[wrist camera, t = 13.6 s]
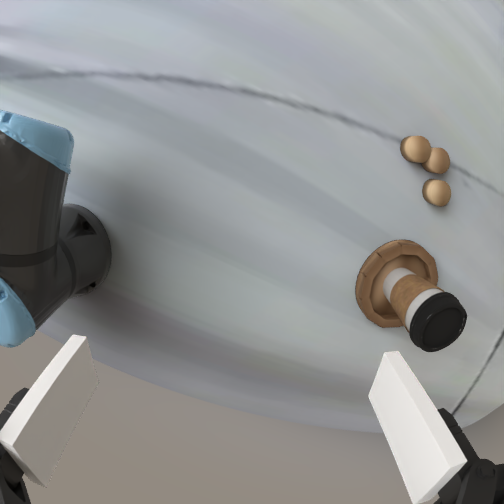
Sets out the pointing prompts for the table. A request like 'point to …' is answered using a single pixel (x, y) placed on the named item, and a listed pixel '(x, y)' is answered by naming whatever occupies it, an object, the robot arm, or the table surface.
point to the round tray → (377, 271)
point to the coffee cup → (424, 310)
